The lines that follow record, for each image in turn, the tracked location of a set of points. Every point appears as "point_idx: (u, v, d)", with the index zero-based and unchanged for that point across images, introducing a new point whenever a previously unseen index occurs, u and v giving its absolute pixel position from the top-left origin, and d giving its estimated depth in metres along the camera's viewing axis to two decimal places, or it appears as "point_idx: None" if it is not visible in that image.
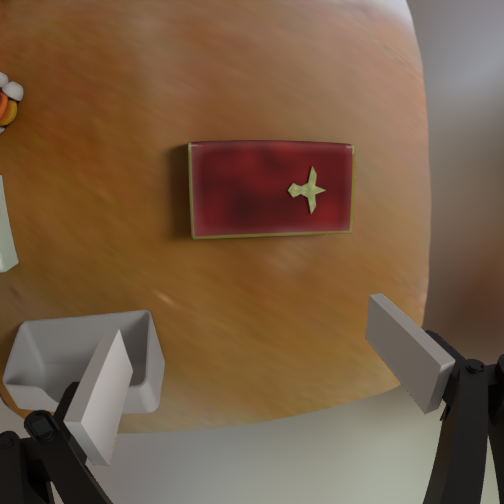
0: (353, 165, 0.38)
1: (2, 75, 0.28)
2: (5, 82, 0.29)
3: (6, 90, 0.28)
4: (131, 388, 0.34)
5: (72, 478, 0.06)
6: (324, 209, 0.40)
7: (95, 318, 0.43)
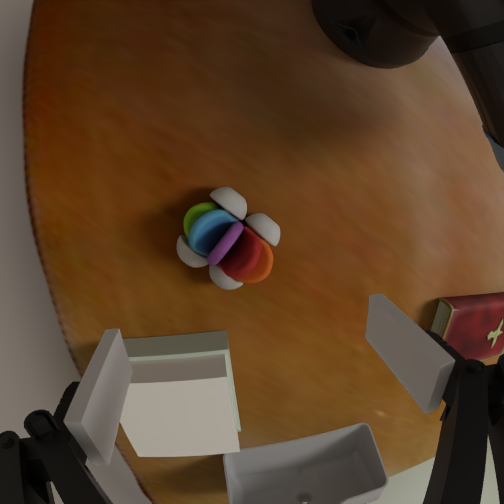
0: None
1: (243, 199, 0.30)
2: (246, 210, 0.31)
3: (267, 234, 0.30)
4: (378, 490, 0.35)
5: (72, 478, 0.06)
6: (496, 343, 0.41)
7: (315, 437, 0.45)
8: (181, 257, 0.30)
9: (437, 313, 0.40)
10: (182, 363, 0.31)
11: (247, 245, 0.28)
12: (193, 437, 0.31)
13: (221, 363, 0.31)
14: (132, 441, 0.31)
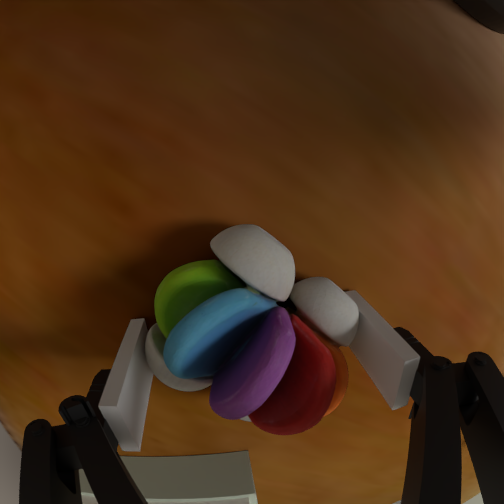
0: None
1: (289, 255, 0.13)
2: None
3: (341, 332, 0.13)
4: None
5: (103, 465, 0.07)
6: None
7: None
8: (156, 375, 0.13)
9: None
10: None
11: (304, 372, 0.11)
12: None
13: None
14: None
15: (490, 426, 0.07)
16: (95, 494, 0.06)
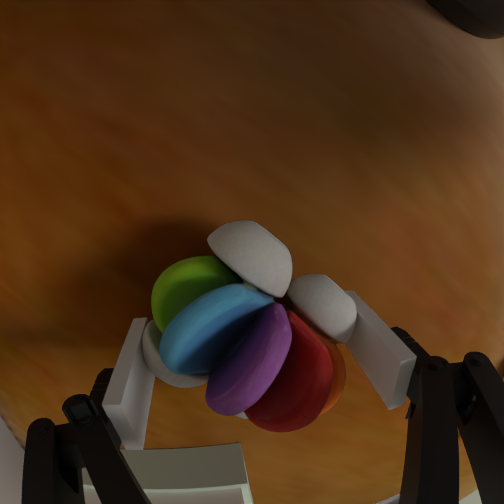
0: None
1: (286, 251, 0.13)
2: None
3: (338, 329, 0.13)
4: None
5: (106, 464, 0.07)
6: None
7: None
8: (153, 372, 0.13)
9: None
10: None
11: (301, 368, 0.11)
12: None
13: None
14: None
15: (488, 426, 0.07)
16: (98, 493, 0.06)
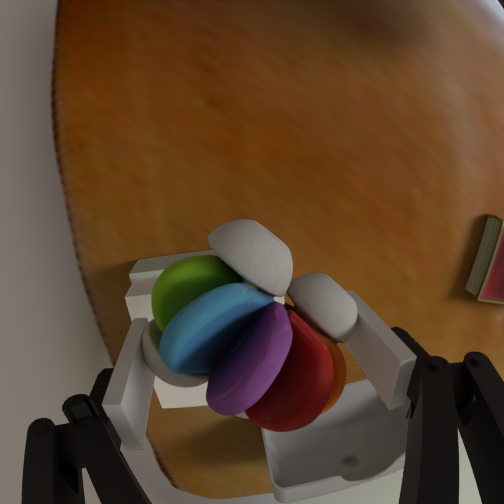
0: None
1: (287, 251, 0.13)
2: None
3: (339, 328, 0.13)
4: None
5: (106, 464, 0.07)
6: None
7: (363, 383, 0.41)
8: (153, 371, 0.13)
9: (486, 231, 0.35)
10: None
11: (301, 368, 0.11)
12: None
13: None
14: (157, 385, 0.27)
15: (488, 426, 0.07)
16: (98, 493, 0.06)
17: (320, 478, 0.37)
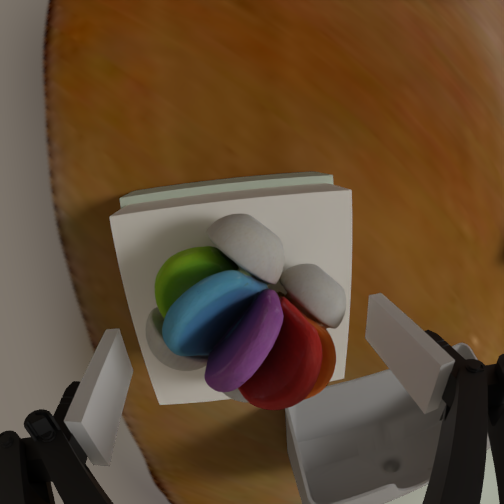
0: None
1: (279, 242, 0.14)
2: None
3: (328, 314, 0.14)
4: None
5: (72, 478, 0.06)
6: None
7: None
8: (155, 356, 0.14)
9: None
10: (261, 189, 0.19)
11: (292, 348, 0.12)
12: None
13: (329, 185, 0.19)
14: (152, 369, 0.18)
15: None
16: None
17: (358, 488, 0.27)
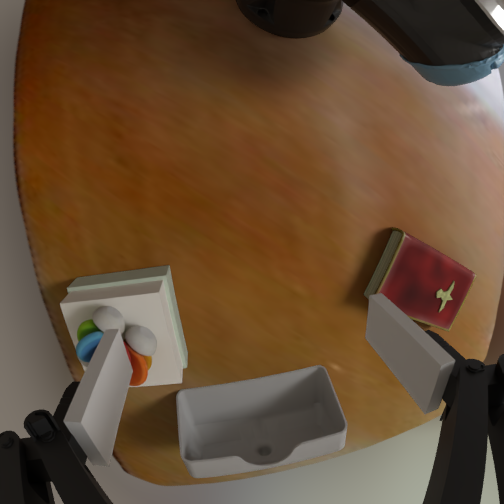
0: (470, 287, 0.47)
1: (118, 319, 0.31)
2: (124, 326, 0.32)
3: (140, 349, 0.31)
4: (336, 435, 0.39)
5: (72, 478, 0.06)
6: (445, 311, 0.47)
7: (269, 378, 0.49)
8: (80, 361, 0.31)
9: (389, 242, 0.45)
10: (126, 287, 0.36)
11: None
12: None
13: (158, 285, 0.36)
14: None
15: None
16: None
17: None
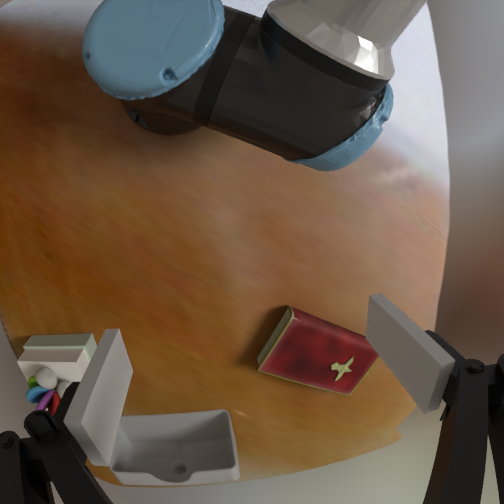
0: (375, 361, 0.54)
1: (50, 378, 0.38)
2: (56, 382, 0.39)
3: None
4: (226, 470, 0.46)
5: (72, 478, 0.06)
6: (343, 380, 0.54)
7: (182, 415, 0.56)
8: None
9: (282, 318, 0.51)
10: (59, 352, 0.43)
11: (52, 407, 0.37)
12: None
13: (78, 354, 0.43)
14: None
15: None
16: None
17: (156, 475, 0.51)
